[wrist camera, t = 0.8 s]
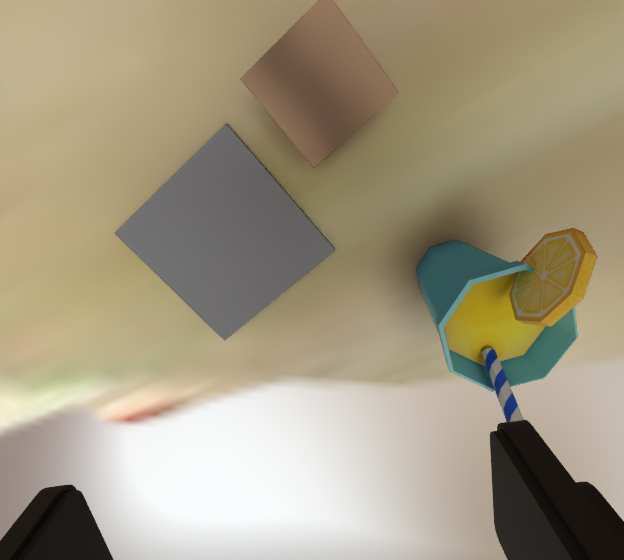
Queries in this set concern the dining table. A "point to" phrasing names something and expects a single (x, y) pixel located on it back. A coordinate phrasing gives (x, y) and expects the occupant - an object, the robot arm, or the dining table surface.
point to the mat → (225, 235)
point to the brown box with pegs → (319, 82)
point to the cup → (506, 309)
